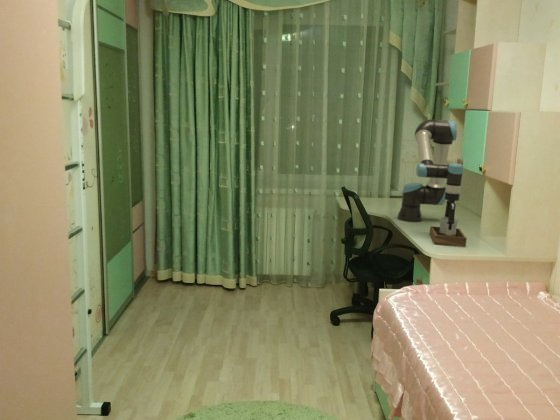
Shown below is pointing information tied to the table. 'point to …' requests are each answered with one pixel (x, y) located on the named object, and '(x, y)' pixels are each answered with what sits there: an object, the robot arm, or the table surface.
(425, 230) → the table surface
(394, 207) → the table surface
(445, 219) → the medicine box
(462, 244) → the walnut box
